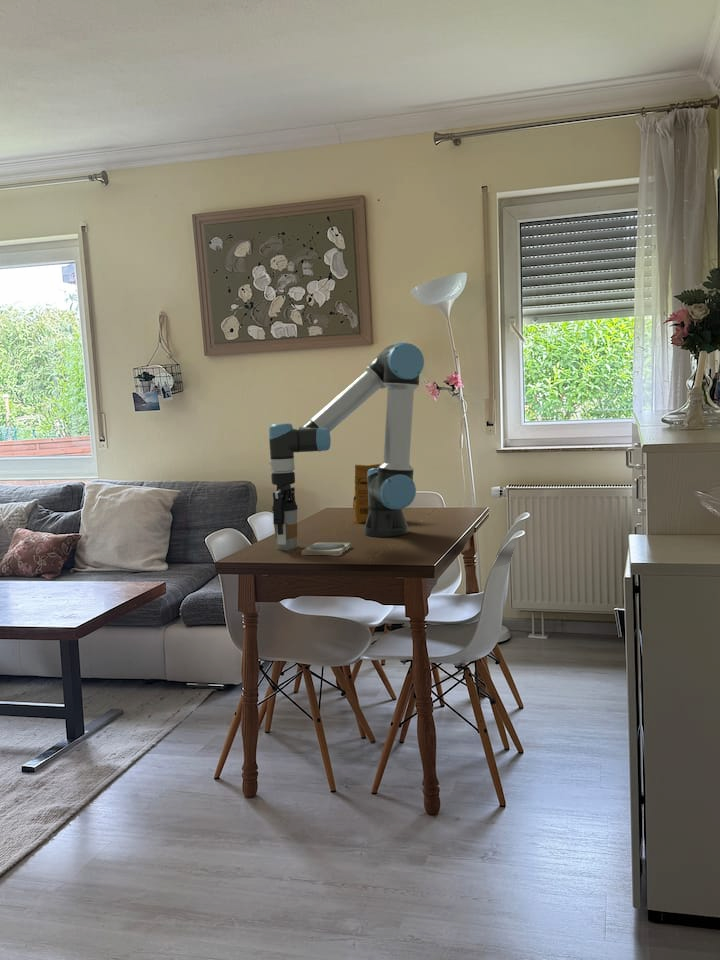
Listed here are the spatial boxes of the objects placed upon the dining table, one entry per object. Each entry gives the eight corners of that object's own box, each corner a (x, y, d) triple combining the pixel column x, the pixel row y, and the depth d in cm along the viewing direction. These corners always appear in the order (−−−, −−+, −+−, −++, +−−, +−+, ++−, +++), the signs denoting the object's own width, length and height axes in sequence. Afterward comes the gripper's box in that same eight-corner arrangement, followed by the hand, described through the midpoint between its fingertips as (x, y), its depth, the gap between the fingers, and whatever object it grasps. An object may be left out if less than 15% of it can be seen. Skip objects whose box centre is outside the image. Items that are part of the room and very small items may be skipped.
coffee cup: (269, 550, 276) (266, 504, 274) (281, 545, 284) (278, 500, 282) (292, 551, 273) (290, 504, 271) (304, 546, 281) (301, 500, 279)
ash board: (316, 547, 279) (316, 541, 279) (351, 547, 275) (351, 542, 275) (301, 555, 265) (301, 550, 265) (338, 555, 262) (338, 550, 262)
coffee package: (354, 520, 333) (351, 463, 330) (386, 518, 332) (384, 462, 330) (352, 524, 323) (350, 465, 320) (385, 523, 322) (383, 464, 320)
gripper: (283, 468, 287) (286, 536, 289) (259, 475, 267) (263, 547, 269) (304, 468, 284) (307, 536, 287) (282, 475, 265) (286, 548, 267)
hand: (286, 541), depth 278 cm, fingers closed on coffee cup, 7 cm apart
